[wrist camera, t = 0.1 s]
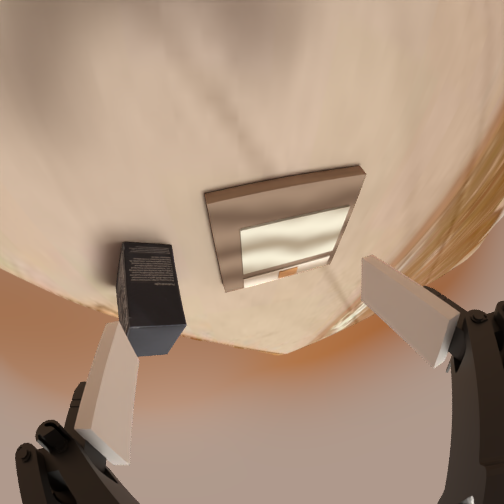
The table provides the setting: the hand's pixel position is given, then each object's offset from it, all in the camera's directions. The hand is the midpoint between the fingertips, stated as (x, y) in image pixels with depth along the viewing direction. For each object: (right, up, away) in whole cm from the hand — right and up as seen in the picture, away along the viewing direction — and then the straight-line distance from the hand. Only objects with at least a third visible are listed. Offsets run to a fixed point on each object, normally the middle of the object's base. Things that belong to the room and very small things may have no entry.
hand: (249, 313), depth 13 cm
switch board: (+4, +5, +23) cm, 24 cm away
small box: (-14, +1, +20) cm, 25 cm away
